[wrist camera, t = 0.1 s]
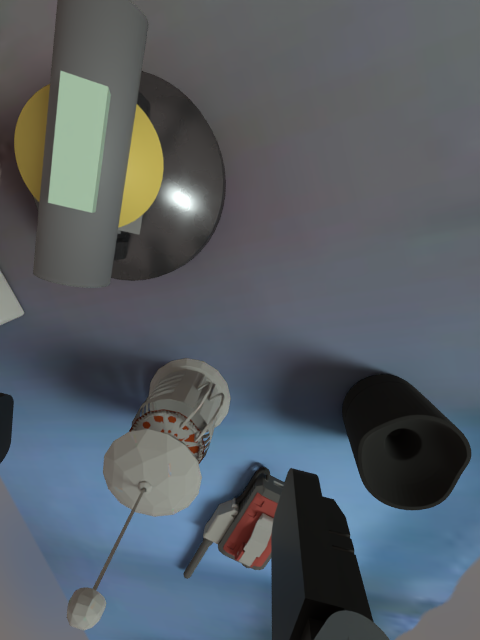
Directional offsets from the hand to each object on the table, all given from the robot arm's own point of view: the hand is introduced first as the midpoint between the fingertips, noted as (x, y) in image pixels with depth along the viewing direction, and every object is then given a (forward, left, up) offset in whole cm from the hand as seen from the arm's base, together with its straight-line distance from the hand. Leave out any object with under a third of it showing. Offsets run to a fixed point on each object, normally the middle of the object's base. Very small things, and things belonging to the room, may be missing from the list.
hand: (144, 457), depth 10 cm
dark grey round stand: (-8, -12, -29) cm, 33 cm away
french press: (+13, -2, -29) cm, 32 cm away
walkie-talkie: (+30, +8, -30) cm, 43 cm away
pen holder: (+9, +19, -30) cm, 36 cm away
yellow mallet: (-8, -12, -23) cm, 27 cm away
